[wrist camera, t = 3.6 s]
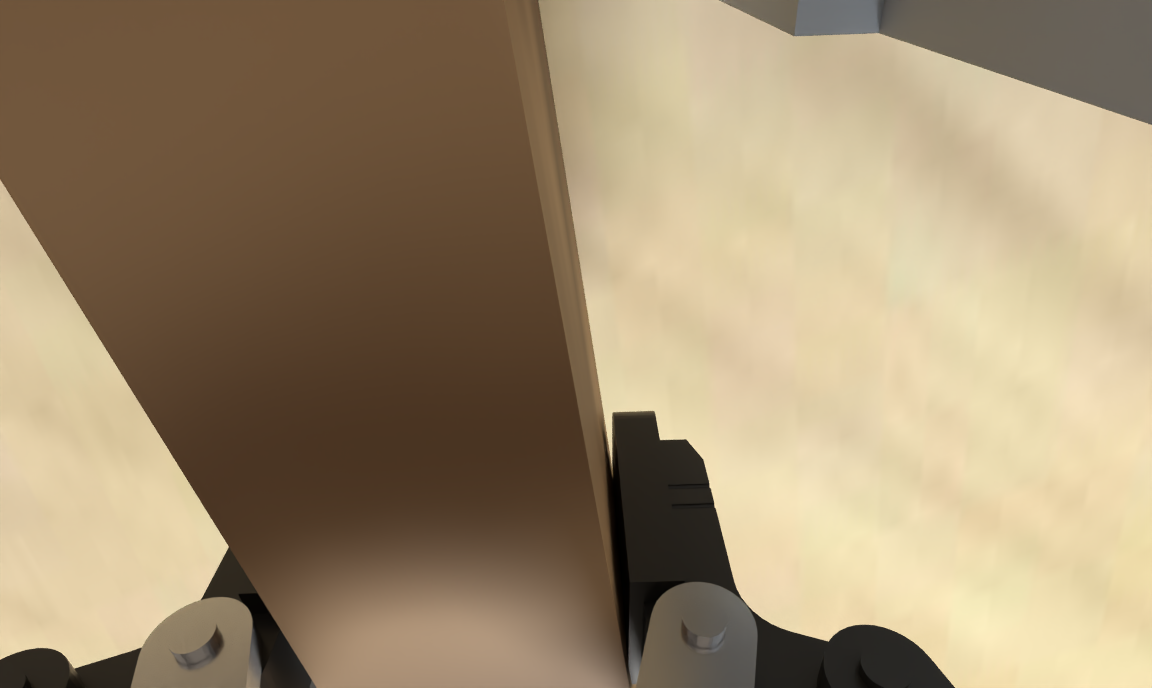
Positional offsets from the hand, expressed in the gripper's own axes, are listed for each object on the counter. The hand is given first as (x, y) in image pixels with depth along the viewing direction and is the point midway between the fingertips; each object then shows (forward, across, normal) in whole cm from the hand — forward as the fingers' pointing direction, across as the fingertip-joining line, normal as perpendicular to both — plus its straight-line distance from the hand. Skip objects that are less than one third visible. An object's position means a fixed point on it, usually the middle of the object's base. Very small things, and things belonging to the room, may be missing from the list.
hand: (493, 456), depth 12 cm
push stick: (0, 0, -4) cm, 4 cm away
